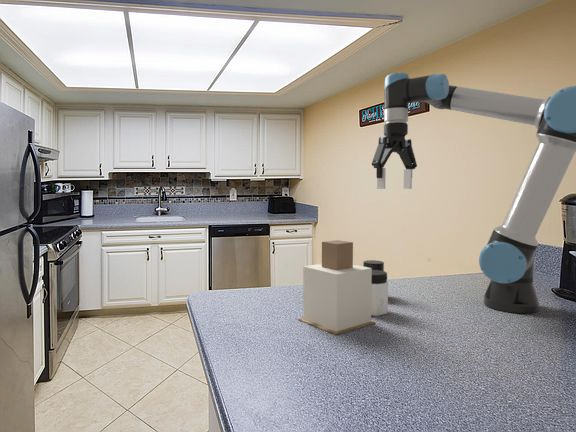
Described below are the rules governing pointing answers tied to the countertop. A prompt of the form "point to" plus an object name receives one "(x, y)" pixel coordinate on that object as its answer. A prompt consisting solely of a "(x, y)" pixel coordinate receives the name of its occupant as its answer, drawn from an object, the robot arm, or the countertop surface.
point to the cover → (337, 289)
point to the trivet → (335, 331)
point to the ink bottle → (374, 265)
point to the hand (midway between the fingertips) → (394, 188)
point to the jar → (379, 293)
